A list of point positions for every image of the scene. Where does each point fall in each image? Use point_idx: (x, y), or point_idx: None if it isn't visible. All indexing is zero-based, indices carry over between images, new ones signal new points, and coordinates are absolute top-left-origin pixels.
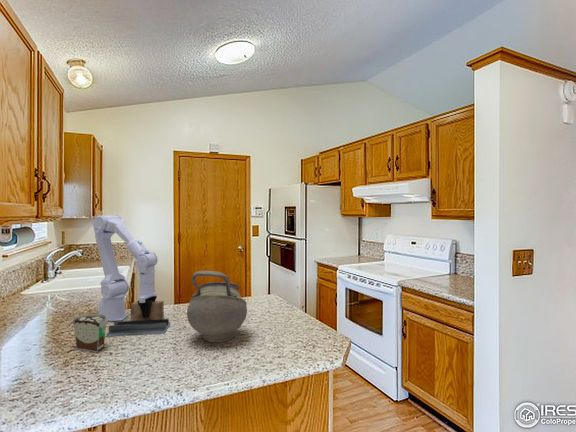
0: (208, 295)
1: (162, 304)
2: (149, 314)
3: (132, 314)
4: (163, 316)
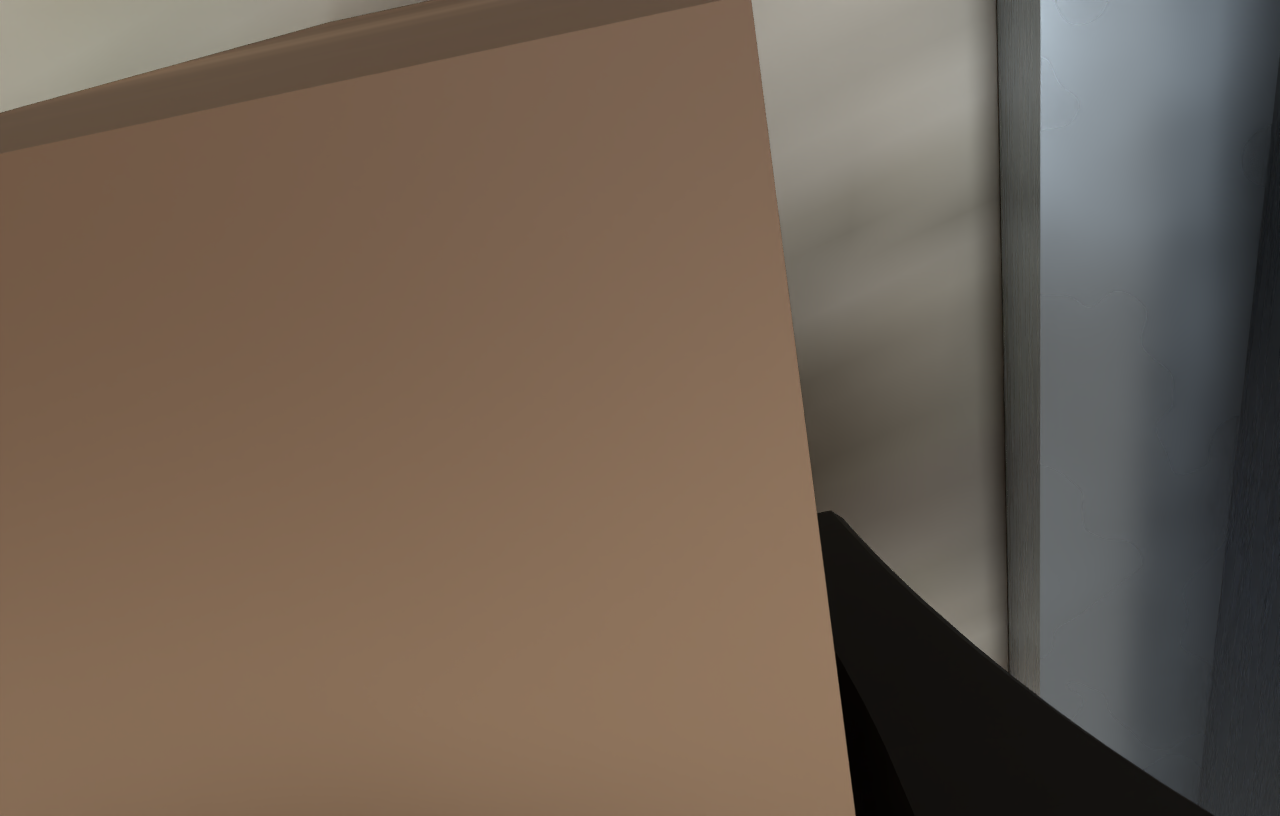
0: None
1: (304, 66)
2: None
3: None
4: (325, 26)
